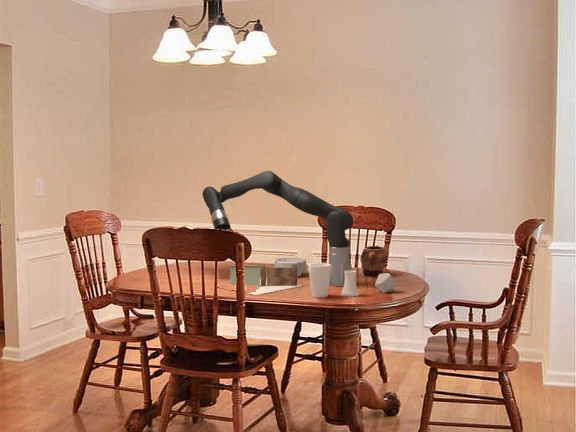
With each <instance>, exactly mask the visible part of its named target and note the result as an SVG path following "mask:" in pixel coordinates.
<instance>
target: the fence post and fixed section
mask: <svg viewBox="0 0 576 432" xmlns="http://www.w3.org/2000/svg"><path fill="white" fill-rule="evenodd" d="M260 279H261V286H266V279H267V286H297V284H298V277H297V265H296V264H293V265H292V267H275V266H274V267H267V265H266V264H260Z"/></svg>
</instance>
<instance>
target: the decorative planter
mask: <svg viewBox="0 0 576 432" xmlns="http://www.w3.org/2000/svg"><path fill="white" fill-rule="evenodd" d="M385 251H386V249H385V247H384V246H379V245H372V246H371V245H369V246H366V247H364V248H363V249H362V252H361V254H360V263H361V267H362V274H363V276H364V277H368V278H369V277H370V278H371V277H372V278H373V277H374V278H376V277H377V278H378V276H379V274H384V268H385V265H386V263H387V254H386V253H385Z"/></svg>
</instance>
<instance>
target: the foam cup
mask: <svg viewBox="0 0 576 432" xmlns="http://www.w3.org/2000/svg"><path fill="white" fill-rule="evenodd" d="M307 270H308V275H309V283H310V284H309V285H310V289H311V290H310V291H311V295H312V297H313V298H327V297H328V293H329V286H330V285H329V279H330V271H331V264H329V262H328V263H325V262H315V263H314V262H312V263H309V264H307Z"/></svg>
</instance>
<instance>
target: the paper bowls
mask: <svg viewBox="0 0 576 432" xmlns="http://www.w3.org/2000/svg"><path fill="white" fill-rule="evenodd" d="M293 264H296V265H297V278H298V277H301V276H302V274H303V272H305V271H306V270H307V259H304V258H300V257H279V258H274V267H292V265H293Z"/></svg>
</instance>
